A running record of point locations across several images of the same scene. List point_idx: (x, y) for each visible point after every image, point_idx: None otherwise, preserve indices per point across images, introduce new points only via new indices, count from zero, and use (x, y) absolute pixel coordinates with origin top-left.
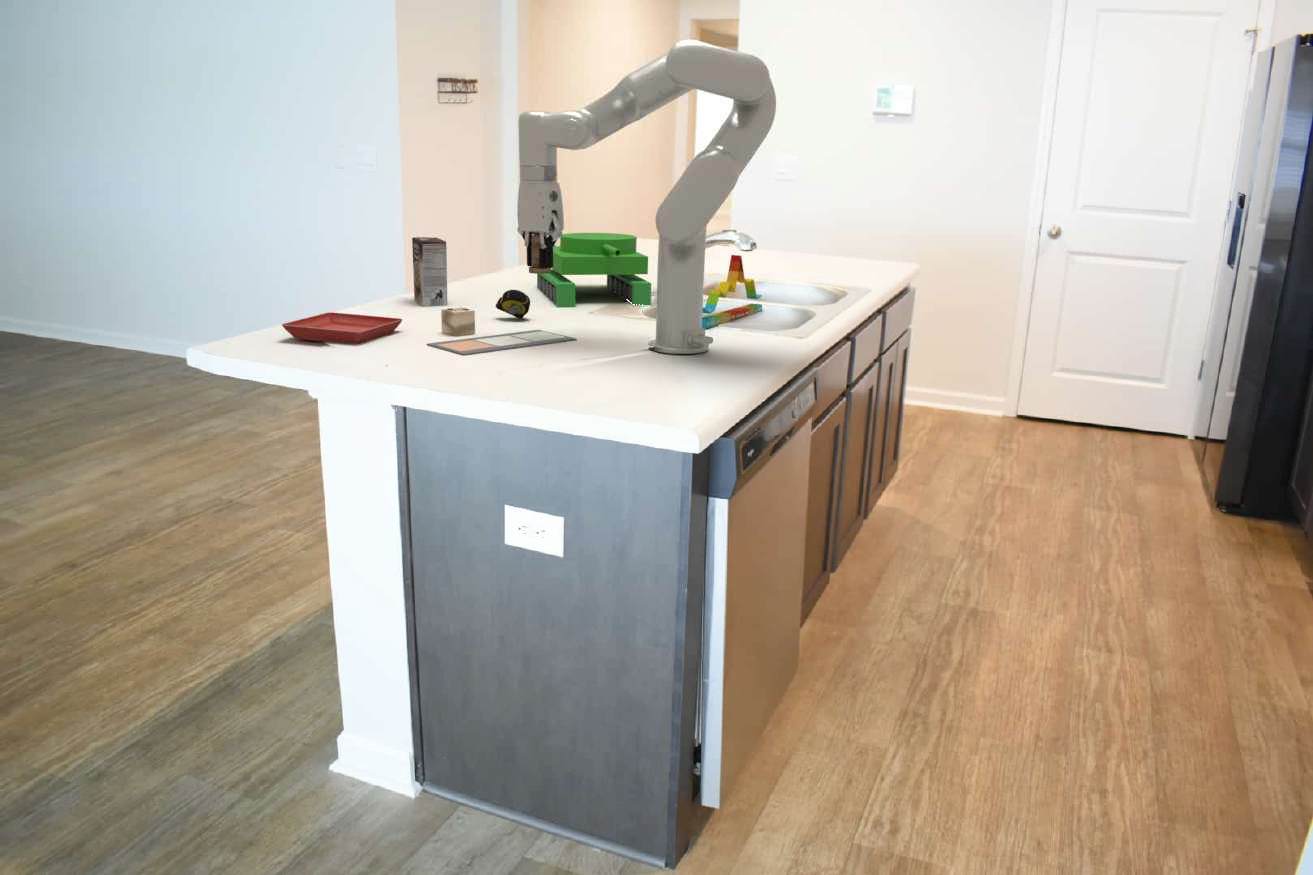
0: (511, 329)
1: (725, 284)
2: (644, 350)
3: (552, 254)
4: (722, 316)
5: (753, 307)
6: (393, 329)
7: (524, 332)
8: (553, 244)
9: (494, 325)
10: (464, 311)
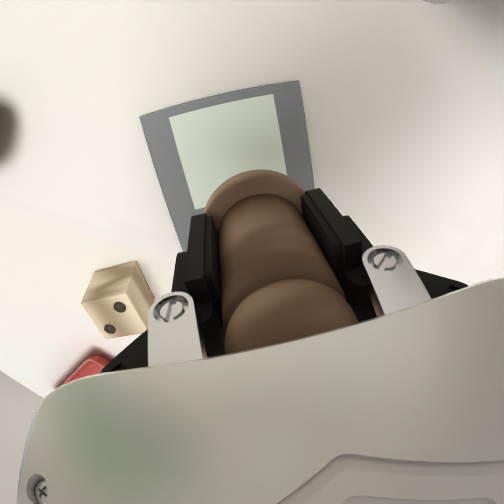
0: (98, 171)
1: None
2: (445, 42)
3: (343, 222)
4: None
5: None
6: (104, 360)
7: (166, 164)
8: (419, 277)
9: (45, 193)
10: (137, 314)
